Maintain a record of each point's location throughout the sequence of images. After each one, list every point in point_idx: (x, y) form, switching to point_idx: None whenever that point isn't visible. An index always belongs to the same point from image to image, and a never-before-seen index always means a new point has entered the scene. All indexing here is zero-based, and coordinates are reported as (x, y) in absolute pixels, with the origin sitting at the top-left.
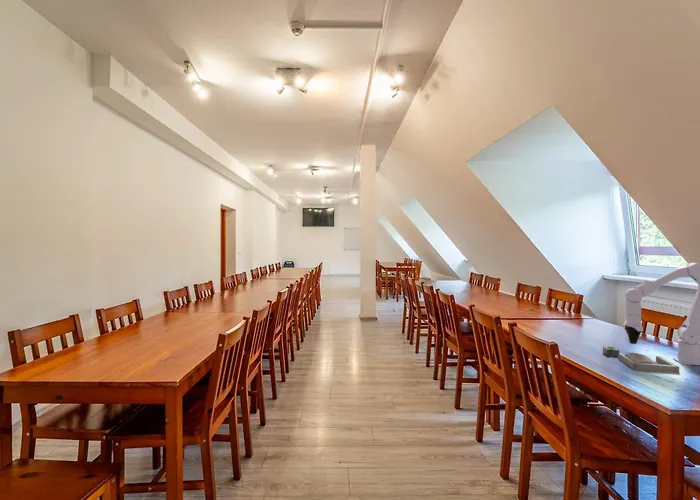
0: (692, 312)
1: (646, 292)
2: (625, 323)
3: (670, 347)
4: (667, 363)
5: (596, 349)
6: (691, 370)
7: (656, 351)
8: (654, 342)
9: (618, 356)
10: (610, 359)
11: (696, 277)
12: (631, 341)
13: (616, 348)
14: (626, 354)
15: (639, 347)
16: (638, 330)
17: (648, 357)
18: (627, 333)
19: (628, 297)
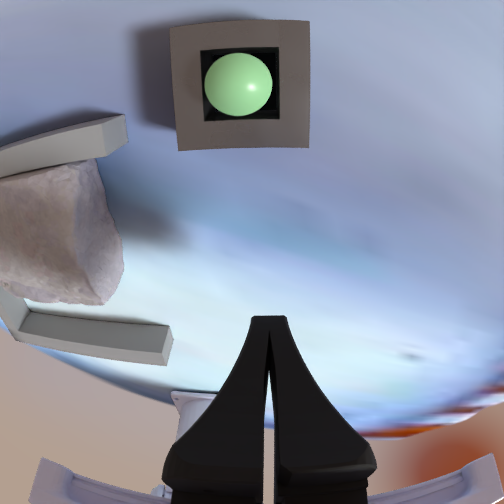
0: None
1: None
2: None
3: (433, 410)
4: (53, 333)
5: (414, 32)
6: (95, 373)
7: (389, 379)
8: (493, 384)
9: (114, 118)
10: (78, 53)
11: None
12: (249, 335)
13: (256, 146)
14: (30, 175)
15: (459, 340)
16: (41, 467)
17: (98, 302)
18: (318, 397)
19: None
